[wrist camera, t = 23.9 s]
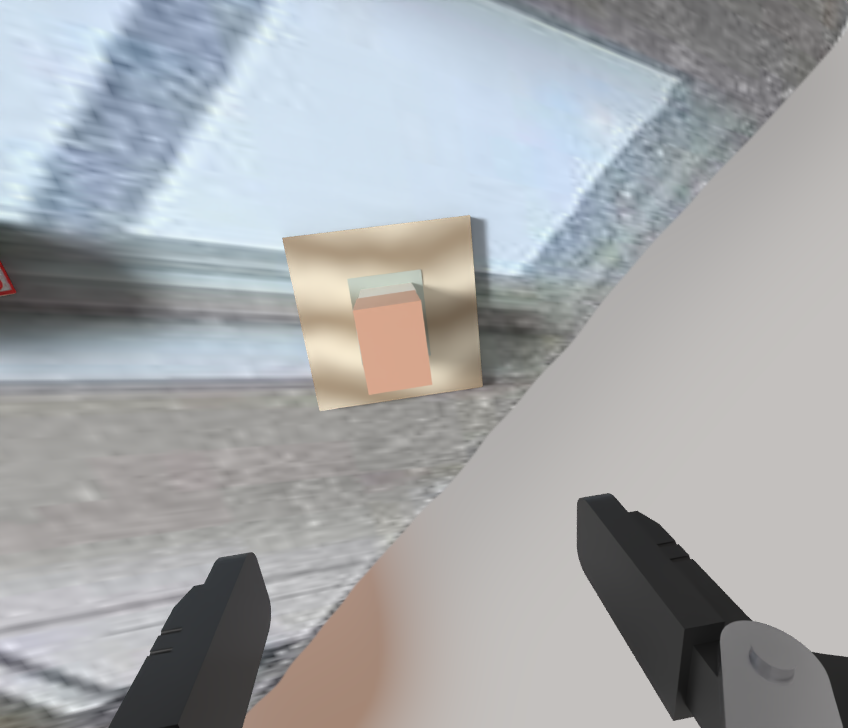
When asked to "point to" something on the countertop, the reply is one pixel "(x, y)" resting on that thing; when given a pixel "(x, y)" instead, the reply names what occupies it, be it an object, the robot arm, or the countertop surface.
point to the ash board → (375, 267)
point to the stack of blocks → (5, 283)
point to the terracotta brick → (392, 341)
